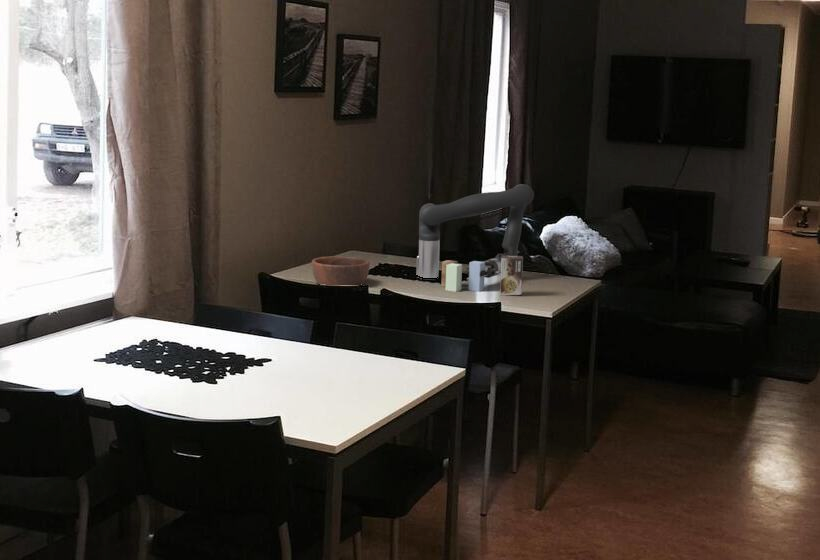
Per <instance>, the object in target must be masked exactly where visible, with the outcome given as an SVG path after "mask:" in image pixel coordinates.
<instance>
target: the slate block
mask: <svg viewBox="0 0 820 560" xmlns="http://www.w3.org/2000/svg"><path fill="white" fill-rule="evenodd" d="M468 264H469V266H468V267H469V275H468V291H471V292H472V291H473V292H481V291H484V290H485V276H482V277H480V276H479V275H480V271H483V270H485V262H483V261H478V260H472V261H470V262H469V263H468Z"/></svg>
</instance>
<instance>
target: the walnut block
mask: <svg viewBox="0 0 820 560" xmlns="http://www.w3.org/2000/svg"><path fill="white" fill-rule="evenodd" d="M458 262H459V261H458V260H449V259H448V260H447V259H446V260H444V261H441V281H440V282H441V284H440V285H441V288H446V265H447V264H451V263H454V264H459V263H458Z"/></svg>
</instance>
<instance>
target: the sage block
mask: <svg viewBox="0 0 820 560" xmlns="http://www.w3.org/2000/svg"><path fill="white" fill-rule="evenodd" d="M462 272H463V264H461V263H458V264H454V263H451V264H447V265H446V287H444V288H445V291H447V292H448V291H449V292H454V293H456V292H459V291H461V290H462V281H463V280H462V277H463V275H462V274H463V273H462Z"/></svg>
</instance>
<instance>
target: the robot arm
mask: <svg viewBox="0 0 820 560" xmlns="http://www.w3.org/2000/svg"><path fill="white" fill-rule="evenodd" d="M534 196H535V192H534V190H533V189H532V187H530V185H528V184H523V183H518V184H516V185H515V186H514V187H512V188H509V189H505V190H501V191H492V192H491V191H490V192H488V191H487V192H481V193H476V194H471V195H468V196H464V197H462V198H459V199H457V200H454V201H451V202H448V203H443V204H442V203H441V204H434V203H431V202H430V203H425V204H423V205H422V206H421V208H420V209H419V212H418V213H419V215H418V216H419V217H418V255H417V256H416V270H415V271H416V272H415V273H416V275H418V276H420V277H423V278H437V277H438V278H439V275H440V274H439V269H440V268H439V267H440V244H441V243H440V239H441V237H440V236H441V234H440V233H441V232H440V224H442V223H445V222H448V221H450V220H456V219H464V218H470V217H475V216H479V215H484V214H488V213H491V212H496V211H499V210H501V209H504V208H509V207H510V209H509V213H508V214H509V215H508V219H507V224H506V228H505V232H504V235H503V236H504V237H503V241H502V246H501V247H502V248H503V249H504V250H506V251H507V252H509V255H508V254H505V253H497V255H495V257H494V258H490V259H487V260H484V261H483V260H482V262H485V270H483V271H480V275H479V276H480V277H482V276H485V278H486V279H489V278H492V277H494V276H498V275H499V274H501V258H502V256H519V255H518V251H519V244H520V241H521V240H520V238H521V234H522V229H523V228H522V227H523V219H524V213H525V210H526V207H527V205H529V204H530V203H531V202H532V201H533V200H534ZM466 269H467V270H466V274H467V276H469V266H467V268H466ZM416 275H415V276H416ZM438 278H437V279H438Z"/></svg>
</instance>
